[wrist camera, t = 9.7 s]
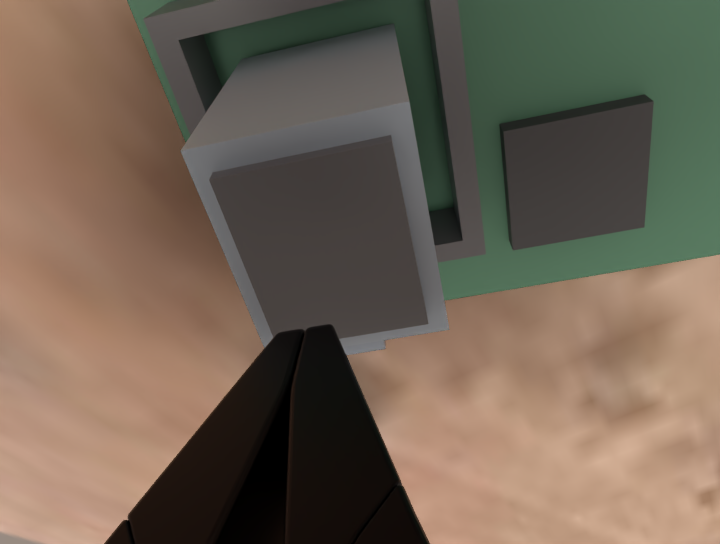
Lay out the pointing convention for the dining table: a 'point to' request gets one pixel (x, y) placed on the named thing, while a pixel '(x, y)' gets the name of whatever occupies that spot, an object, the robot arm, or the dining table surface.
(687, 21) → the board
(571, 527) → the dining table surface
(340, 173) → the plug
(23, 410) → the dining table surface
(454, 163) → the grey square frame
